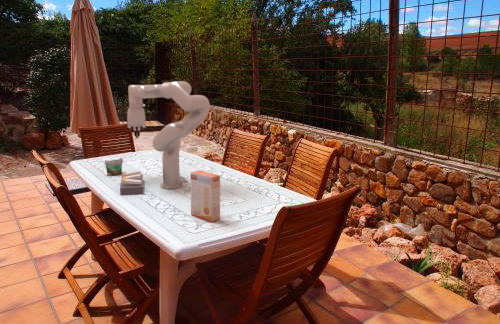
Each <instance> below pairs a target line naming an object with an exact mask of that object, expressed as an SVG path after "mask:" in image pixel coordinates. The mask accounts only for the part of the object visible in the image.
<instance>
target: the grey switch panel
mask: <svg viewBox="0 0 500 324" xmlns="http://www.w3.org/2000/svg"><path fill="white" fill-rule="evenodd" d="M143 175H144V174H142V173H141V178H137V179H133V180H141V184H129V183H122V179H123V174H121V180H120V185H119V193H120V195H119V196H132V195H144V194H145V193H144V177H143Z"/></svg>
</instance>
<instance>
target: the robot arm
mask: <svg viewBox="0 0 500 324" xmlns="http://www.w3.org/2000/svg"><path fill="white" fill-rule="evenodd" d="M191 92H192V86H191V84H190V83H189V82H187V81H184V80H182V81H181V80H180V81H179V80H175V81H169V82H163V83H162V84H129V85H128V107H129V108H127V121H126V122H127V128H128V129H131V130H133V131H134V133H133V134H134V135H133V136H134V137H135V138H136V139H139V137H140V133H141V132H140V131H141V130H142V129H144V128H147V126H146V113H145V109H144V107H146V104H144V103H143V99H154V98H155V99H157V98H165V99H172V100H173V101H174V102H175V103H176V104H177V105H178V106H179V107H180V108H181V109H182V110H184V111H185V112H188V114H186V115H184V117H183V118H182V119H180V120H179V121H176V122H171V123H168V124H167V125H165V126H164V127H163V128H162V129H161V130H160V131H159V132H158V133H157V134H156V135H155V136H154V137H153V139H152V147H153V149H154V150H155V151H157V152H162V157H161V159H162V162H161V164H162V183H161V184H160V185H159V186H160V188H161V189H165V190H175V189H176V190H177V189H180V188H182V187H183V184H188V183H189V180H188V179H185V178H181V177H180V147H181V140H182V139H186V138H187V137H188V136H189V135H190V134H191V133H192V132H193V131H195V129H197V128H198V126H200V124H202V123H203V122H204V121H205V120H206V119H207V118H208V116H209V113H210V110H211V109H210V108H211V104H210V100H209V99H208V98H207V97H206V96H205V95H201V94H193V95H191ZM136 127H137V129H136Z"/></svg>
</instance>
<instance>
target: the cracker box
mask: <svg viewBox="0 0 500 324" xmlns="http://www.w3.org/2000/svg"><path fill="white" fill-rule="evenodd" d="M190 215H191V216H192V217H193V216H194V217H197V218H199V219H201V220H205V221H207V222H210V223H212V222H216V221H218V220H220V219H221V175H219V174H216V173H212V172H207V171H203V170H195V171H191V172H190Z"/></svg>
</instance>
